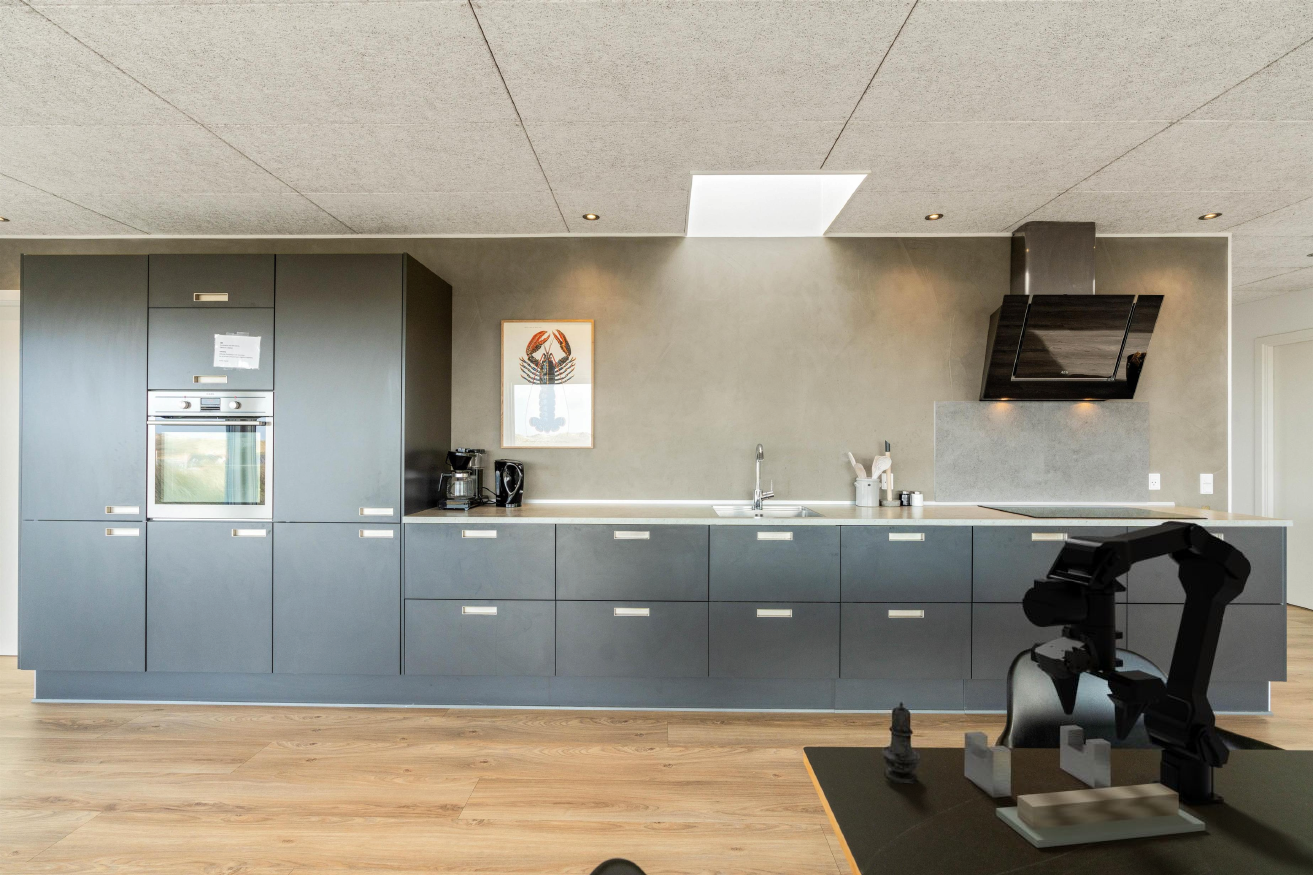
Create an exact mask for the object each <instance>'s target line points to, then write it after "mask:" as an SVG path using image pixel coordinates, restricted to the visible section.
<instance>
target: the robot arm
mask: <svg viewBox="0 0 1313 875" xmlns="http://www.w3.org/2000/svg"><path fill="white" fill-rule="evenodd" d="M1166 555H1167V556H1168V557H1169V558H1170V559H1171V560H1172V561H1173V562H1174V563H1175V564H1176V565H1177V566H1178V572H1177V573H1178V574H1177V578H1178V580H1179V582H1180V584H1181V587H1182V589H1183V591H1184V593H1185V594H1184V595H1185V600H1184V605H1183V608H1182V613H1181V618H1180V622H1179V626H1178V630H1177V633H1176V634H1177V635H1176V639H1175V643H1174V648H1173V653H1172V658H1171V660H1170V661H1171V662H1170V666H1169V670H1168V675H1167V679H1166V682H1165V681H1164V680H1163V679H1162V677H1160V676H1156V675H1153V674H1152V673H1148V672H1145V671H1142V670H1139V669H1135V670H1134V669H1132V670H1122V671H1119V670H1118V669H1117V668H1124V659H1121V658H1119V657H1117V644H1116V643H1117V640H1123V638H1124V633H1123V631H1120V630H1118V629H1116V628H1117V627H1116V593H1125V592H1126V591H1127V587H1126V586H1125V585H1124V584H1123V583H1121V582H1119V580H1117V578H1119V577H1122V576H1123V575H1125V574H1127V573H1128V572H1130V571H1131V569H1132V566H1133V565H1135V564H1136V563H1139V562H1144V561H1147V560H1151V559H1154V558H1158V557H1162V556H1166ZM1251 570H1252V566H1251V562H1250V561H1249V559H1248V558H1247V557H1246V556H1245V554H1244V553H1243V552H1242V551H1240V550H1239V549H1237V547H1235V546H1234V545H1233V544H1231V543H1230V542H1227V541H1225V540H1223V539H1221V538H1219V537H1217V536H1215V535H1214V534H1212V533H1210V532H1209V531H1208V530H1207V529H1206V528H1205V527H1203V526H1202V525H1199V524H1197V523H1196V522H1189V521H1188V522H1186V521H1178V520H1167V521H1164V522H1162V523H1161V524H1157V525H1152V526H1149V527H1145V528H1141V529H1137V530H1133V531H1129V532H1125V533H1121V534H1118V535H1117V534H1116V535H1112V536H1103V535H1102V536H1101V535H1100V536H1098V535H1076V536H1075V535H1074V536H1070V537H1069V538H1067V539H1066V540H1065V541H1064V545H1063V546H1062V547H1061V550H1060V551H1059V553H1058V554H1057V557H1056V558H1055V560H1054V561H1053V563H1052V564H1051V567H1050V569H1049V570H1048V572H1047V573H1046V575H1045V578H1046V579H1044V578H1034V579H1033V587H1030V588H1029V589H1028V590H1027V591H1026V592H1025V594H1024V596H1023V598H1022V602H1021V603H1022V609H1023V610H1022V611H1023V613H1024V615H1025V617H1026V619H1027V620H1028V621H1029V622H1030V623H1031V624H1032V625H1034V626H1036V627H1039V628H1050V627H1061V626H1063V627H1062V629H1061V636H1060V637H1059V638H1056V639H1052V640H1050V641H1047V642H1045V641H1044V642H1035V643H1034V644H1033V645H1032V646H1031V648H1030V661H1031V662H1034V663H1037V664H1036V666H1037V668H1038V669H1039V670H1041V671H1042V672H1043V673H1045V674H1046V675H1048V677H1049V678H1050V680H1051V682H1052V684H1053V687H1054V690H1055V692H1056V694H1057V696H1058V699H1059V702H1060V705H1061V707H1062V711H1063V713H1064V714H1065V715H1066V716H1072V715H1073V714H1074V710H1075V706H1076V700H1077V696H1078V691H1079V690H1078V688H1079V684H1080V677H1081V674H1083V673H1085V674H1088V675H1090V676H1094V677H1095V678H1099V679H1101V680H1103V681H1106V682H1107V687H1108V689H1109V691H1110V692H1111V693H1107V694H1106V697H1108V699H1109V700H1110V701H1111V702H1112V703H1113V705H1114V707H1113V708H1114V722H1115V724H1114V725H1115V726H1114V727H1115V735H1116V739H1117V740H1118V741H1126V740H1127V738H1128V736H1129V734H1130V733H1131V731H1132V730H1133V728H1134V726H1135V725H1136V723H1137V721H1138V720H1139V719H1140V717H1141V715H1142V714H1143V715H1142V716H1143V718H1142V719H1143V720H1142V722H1143V726H1145V730H1146V734H1147V738H1148V742H1149V744H1151V745H1153V746H1157V747H1159V748H1161V751H1160V752H1161V757H1160V759H1161V760H1159V779H1157V780H1152V781H1151V782H1152V783H1151V784H1155V783H1160V784H1162V785H1164V786H1166V787H1168V788H1169V789H1171V790H1173V791H1175V792H1177V793H1179V800H1180V801H1182V802H1184V803H1186V804H1188V805H1190V806H1191V805H1203V804H1213V803H1215V804H1216V803H1224V802H1225V797H1224V796H1221V795H1219V794H1217V793H1216V792H1214V791H1215V786H1214V785H1215V783H1214V782H1215V780H1214V779H1215V778H1214V777H1215V773H1214V772H1215V770H1214V769H1215V768H1216V769H1222V768H1223V765H1227V764H1228V761H1229V758H1230V752H1231V751H1230V748H1228V747H1227V745H1226V744H1225V743H1224V742H1223V740H1222V739H1221V738H1220V737H1219V735H1218V734H1217V733H1216V732H1215V728H1216V726H1215V725H1216V715H1215V713H1214V711H1213V708H1212V706H1211V704H1210V701H1209V700H1208V697H1207V694H1208V689H1209V686H1210V685H1209V684H1210V681H1211V675H1212V671H1213V667H1214V662H1215V657H1216V654H1217V653H1216V652H1217V648H1218V644H1219V639H1220V636H1221V631H1222V625H1223V621H1224V616H1225V613H1226V608H1227V606H1228V605H1229V604H1230V603H1231V602H1232V601H1234V600H1235V599H1237V598H1238V597H1239V596H1240V595H1242V593H1243V592H1244V589H1245V587H1246V583H1247V581H1248V579H1249V577H1250V575H1251V572H1252V571H1251Z"/></svg>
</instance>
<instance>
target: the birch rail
mask: <svg viewBox="0 0 1313 875" xmlns="http://www.w3.org/2000/svg"><path fill="white" fill-rule="evenodd" d="M1016 797H1017V806H1016V807H1017V817H1018V818H1020V819H1021V820H1022V821H1023V822H1025V823H1026V824H1027V825H1029V826H1030V827H1031V828H1033V829H1036V828H1046V827H1056V826H1067V825H1077V824H1087V823H1097V822H1107V821H1117V820H1127V819H1137V818H1147V817H1157V816H1167V815H1178V814H1179V809H1180V805H1179V804H1180V801H1179V800H1180V799H1179V793H1177V792H1175V791H1173V790H1171V789H1169V788H1168V787H1166V786H1164V785H1162V784H1160V783H1155V784H1152V783H1148V784H1147V783H1145V784H1135V785H1123V786H1111V787H1107V788H1096V789H1094V788H1089V789H1078V790H1067V791H1058V792H1057V791H1055V792H1045V793H1034V794H1023V795H1017V796H1016Z"/></svg>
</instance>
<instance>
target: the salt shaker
mask: <svg viewBox="0 0 1313 875" xmlns="http://www.w3.org/2000/svg"><path fill="white" fill-rule="evenodd" d="M898 705H899V706H896V707H893V709H892V711H891V726H890V727H889V731H890V732H891V733H890V735H891V737H890V738H891V739H890V745H888V746H885V747H883V748H882V750H881V753H882V755H883V759H884V761H885V763H886V765H887V766H888V767H887V768H886V769H884V770H885V771H884V770H883V775H884V774H885V775H884V777H885V776H887V777H888V778H889V779H890V781H891V780H893V781H892V782H894V781H896V782H895V783H897V782H900V783H899V784H902V783H912V784H915V783H917V782H918V781H917V779H918V780H919V777H917V776H918V775H917V774H916V773H915V772H914V771H915V770H916V769H917V766H918V765H919V761H920V760H921V755H920V754H919V753H918V752H917V751H916V750H914V749H913V748H912V734H913V733H914V732H913V731H914V730H912V729H911V712H910V710H909V709H908V708H906V707H904V704H903V701H901V702H899V703H898ZM885 772H886V773H885ZM887 777H886V778H887ZM888 778H887V779H888ZM916 778H917V779H916ZM889 779H888V780H889ZM916 781H917V782H916ZM914 782H915V783H914Z"/></svg>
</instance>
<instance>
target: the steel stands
mask: <svg viewBox="0 0 1313 875" xmlns="http://www.w3.org/2000/svg"><path fill="white" fill-rule="evenodd" d="M1059 729H1060V730H1059V731H1060V732H1059V733H1060V734H1059V750H1060V751H1059V756H1060V757H1059V765H1060V766H1059V767H1060V769H1062V770H1063V771H1065V772H1066V773H1068V774H1070V775H1071V776H1073V777H1074V778H1076V779H1078V780H1080V781H1081V782H1083V783H1084V784H1086V785H1088V786H1089V787H1091V789H1099V788H1110V787H1112V786H1111V778H1112V777H1111V771H1112V770H1111V767H1112V766H1111V760H1112V759H1111V758H1112V757H1111V751H1112V750H1111V745H1112V744H1111V742H1110V741H1107V740H1105V739H1103V738H1093V739H1092V738H1091V739H1090V738H1089V739H1086V740H1085V744H1084V728H1082V727H1081V726H1078V725H1076V724H1075V725H1074V724H1072V725H1061V726H1060V728H1059ZM988 738H989V737H988V735H987V734H986V733H984V732H983V731H971V732H969V731H968V732H967V731H966V732H964V777H966V778H967V779H968V780H970V781H971V782H972V783H973V784H974V785H976V786H977V787H978V788H979V789H981V790H983V791H984V792H985V793H987V795H989V796H991V797H992V798H1001V797H1011V794H1012V793H1011V789H1012V788H1011V778H1012V777H1011V776H1012V775H1011V771H1012V770H1011V766H1012V764H1011V763H1012V760H1011V755H1012V754H1011V753H1012V750H1011V749H1009V747H1007V746H1005V745H994V746H988V740H989V739H988Z"/></svg>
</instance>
